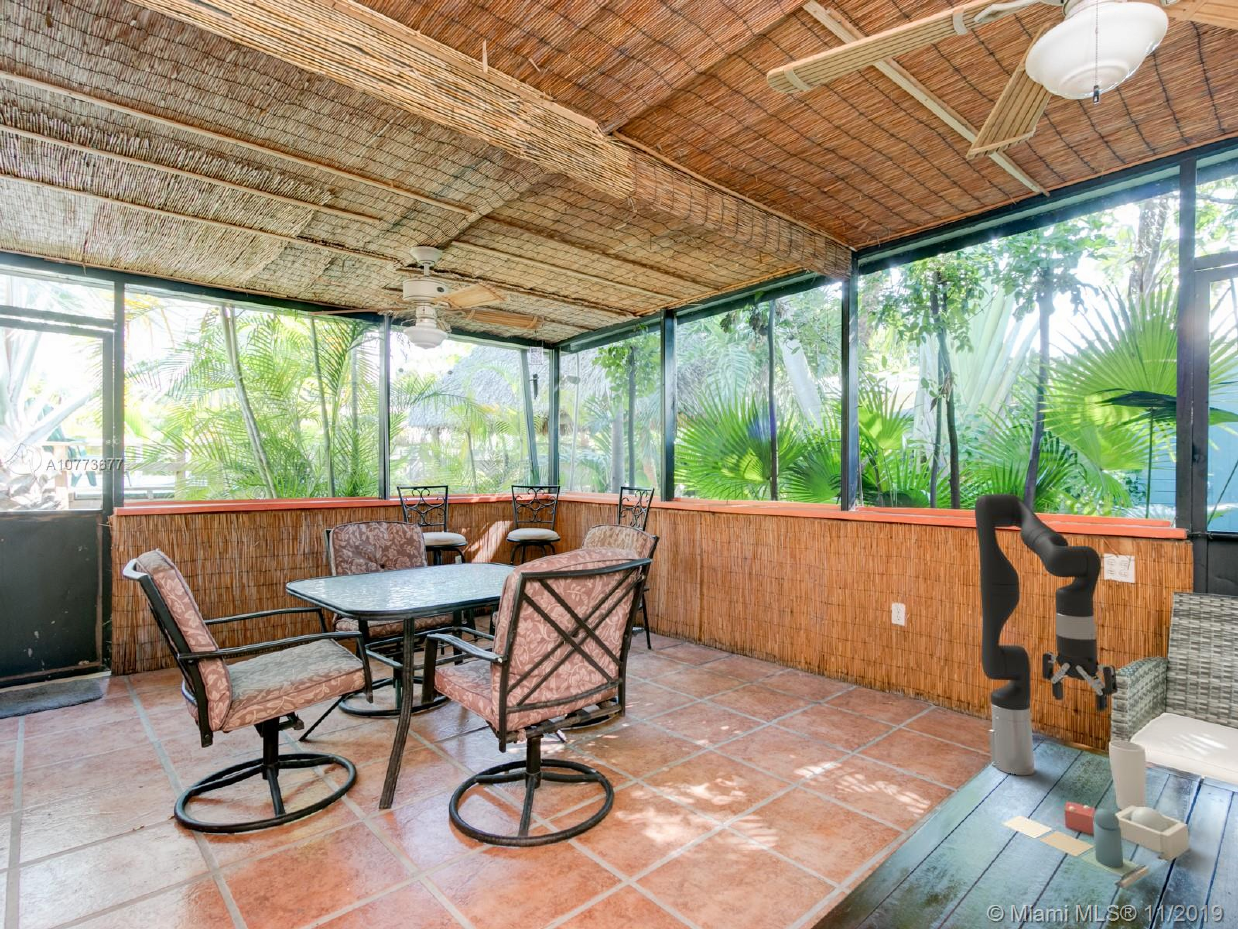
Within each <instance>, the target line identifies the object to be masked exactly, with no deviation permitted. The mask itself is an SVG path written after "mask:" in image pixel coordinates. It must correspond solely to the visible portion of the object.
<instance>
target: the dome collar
mask: <svg viewBox="0 0 1238 929" xmlns="http://www.w3.org/2000/svg"><path fill="white" fill-rule="evenodd" d="M1137 808H1139V807H1136V806H1133V805H1132V806H1130V807H1128V808H1126V809H1124V810H1120V811H1118V812H1116V813H1114V814H1115V815H1116V816H1117V818H1118V820H1119V827H1120V828H1121V839H1125V841H1126V840H1127V841H1129V842H1132V843H1134V844H1137V845H1139V846H1142V847H1144V848H1147V849H1150V850H1152V851H1155V852H1157V853H1160V855H1158V856H1157V857H1156V859H1159V860H1163V859H1164V860H1166V861H1168V862H1171V861H1173V860H1174V859H1177V857H1179V856H1180V855H1182V854H1183V853H1185V852H1186V851H1188V850H1189V849H1190V844H1189V843H1190V842H1189V831H1188V830H1189V829H1188V824H1187V823H1184V822H1182V821H1181V820H1179V819H1176V818H1174V817H1170V816H1167V815H1164V814H1162V813H1160V814H1161V815H1162V816H1163V817H1164V818H1165V820H1166V822H1167V825H1168V829H1167V830H1166V831H1164V832H1159V831H1156V830H1154V829H1151V828H1148V827H1146V826H1143V825H1140V824H1137V823H1135V822H1132V821H1131V816H1132V813H1133V811H1134V810H1135V809H1137Z"/></svg>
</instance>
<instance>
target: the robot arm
mask: <svg viewBox="0 0 1238 929" xmlns="http://www.w3.org/2000/svg"><path fill="white" fill-rule="evenodd" d="M974 518H975V527H976V533H977V540H978V550H979V572H980V576H979V577H980V578H979V580H980V581H979V582H980V600H981V610H982V611H981V612H982V628H981V629H982V630H981V631H982V632H981V633H982V634H981V653H980V654H981V657H980V658H981V667H982V670H983V673H984V675H985V676H986V677H987V679H990V680H993V681H994V680H996V681H1009V682H1008V683H1007V684H1005V685H1004V686H1002V687H1000V688H996V689H994V690H992V691H991V692H990V708H991V710H990V711H991V722H992V724H991V725H992V728H991V729H990V730H988V732H989V747H990V762H991V763H992V762H993V761H994V763H993V764H995V765H993V764H992V766H994V767H995V768H996V769H998V770H1000V771H1001V772H1003V773H1007V774H1010V773H1011V775H1014V774H1016V775H1015V776H1030V775H1033V774H1034V773H1035V759H1034V747H1033V746H1034V745H1033V730H1032V718H1031V717H1032V716H1031V715H1032V714H1031V693H1032V692H1031V663H1030V658H1029V654H1028V652H1027V651H1026V649H1025V648H1024V647H1023V646H1021V645H1014V644H1012V645H1011V644H1006V645H1004V644H1003V645H1002V644H1001V645H1000V637H1001V633H1002V630H1003V628H1004V626H1005V624H1006V623H1007V621H1008V620H1009V618H1010V617H1011V616H1012V614H1013V613H1014V611H1015V609H1016V608H1017V606H1018V604H1019V602H1020V597H1021V596H1020V595H1021V594H1020V578H1019V574H1018V572H1017V570H1016V568H1015V567H1014V566H1013V563H1011V562H1010V560H1009V559H1008V557H1007V555H1005V553H1004V552H1003V550H1002V549H1001V547H1000V545H999V542H998V538H997V533H996V528H1011V527H1015V528H1019V529H1020V532H1019V533H1020V538H1021V541H1022V543H1023V544H1024V545H1025V546H1026V548H1028V549H1029V550H1030V551H1031V552H1033V553H1034V554H1035V555H1037V556H1038V558H1039V559H1040V561H1041V562H1042V564H1043V566H1044V568H1045V570H1046V571H1047V573H1049V574H1050V575H1052V576H1055V577H1057V578H1073V580H1072V582H1071V583H1070V584H1069V585H1064V586H1062V587H1058V588H1057V589H1056V590H1055V594H1054V595H1055V596H1054V597H1055V621H1054V622H1055V639H1056V640H1055V641H1056V651H1057V655H1056V654H1054V653H1053V652H1052V651H1049V652H1044V653H1043V654H1042V670H1041V672H1042V678H1043V679H1045V680H1046V679H1047V680H1048V681H1050V682H1051V689H1052V691H1051V692H1052V696H1053V697H1054V699H1055V700H1057V701H1061V700H1063V699H1064V684H1063V682H1062V681H1063V680H1064V679H1065V678H1066V677H1067V678H1071V679H1078V680H1079V681H1083V682H1084V681H1085V682H1086V683H1087V684H1088V685H1089V687H1091V688H1092V689H1093V690H1094V692H1095V693H1096V694H1095V704H1096V705H1095V706H1096V711H1097V712H1100V713H1103V712H1105V711H1106V710H1107V709H1108V707H1109V706H1108V703H1109V702H1108V701H1109V700H1108V695H1109V696H1111V695H1113V694H1116V693H1118V683H1117V682H1118V680H1117V676H1116V675H1117V674H1116V668H1115V666H1114V665H1112V664H1109V665H1106V664H1100V662H1099V661H1098V641H1097V639H1098V638H1097V635H1098V632H1097V625H1096V620H1095V614H1094V612H1095V611H1094V595H1095V591H1096V587H1097V584H1098V580H1099V577H1100V573H1101V569H1102V563H1101V562H1102V561H1101V557H1100V555H1099V553H1098V552H1097V551H1096V550H1095V549H1094V548H1093V547H1092V546H1088V545H1072V546H1071V545H1070V544H1069V542H1068V540H1067V539H1066V538H1065V537H1064V536H1063V535H1062V534H1060V533H1059V532H1057V531H1056V530H1054V529H1053V528H1052V527H1050V526H1048V524H1045V522H1043V520H1041V519H1040V518H1039V516H1037V515H1036V513H1035V512H1034V511H1033V510H1032V509H1031V508H1030V507H1029V505H1028V504H1027V503H1026V502H1025V501H1024V500H1023V499H1021V498H1020V497H1019V496H1018V495H1016V494H1012V493H996V494H995V493H994V494H993V493H991V494H980V495H979V496H977V498H976V499H975V504H974ZM1055 663H1057V664H1058V665H1059V667H1060V668H1059V669H1058V670H1057V671H1056V672H1055V671H1054V669H1055V667H1054V665H1055ZM1098 671H1100V672H1101V673H1100V674H1101V675H1102V676H1103V680H1102V678H1101V677H1100V675H1099V674H1098ZM1054 672H1055V673H1054ZM1103 681H1104V683H1103Z"/></svg>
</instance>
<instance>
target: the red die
mask: <svg viewBox="0 0 1238 929" xmlns="http://www.w3.org/2000/svg"><path fill="white" fill-rule="evenodd" d="M1095 812H1096V808H1095V807H1092V806H1089V805H1083V804H1080V803H1075V802H1072V801H1067V802H1066V805H1065V808H1064V824H1065V828H1066V829H1070V830H1075V831H1078V832H1082V833H1085V834H1090V835H1093V836H1094V826H1093V822H1094V821H1095V820H1094V814H1095Z"/></svg>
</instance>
